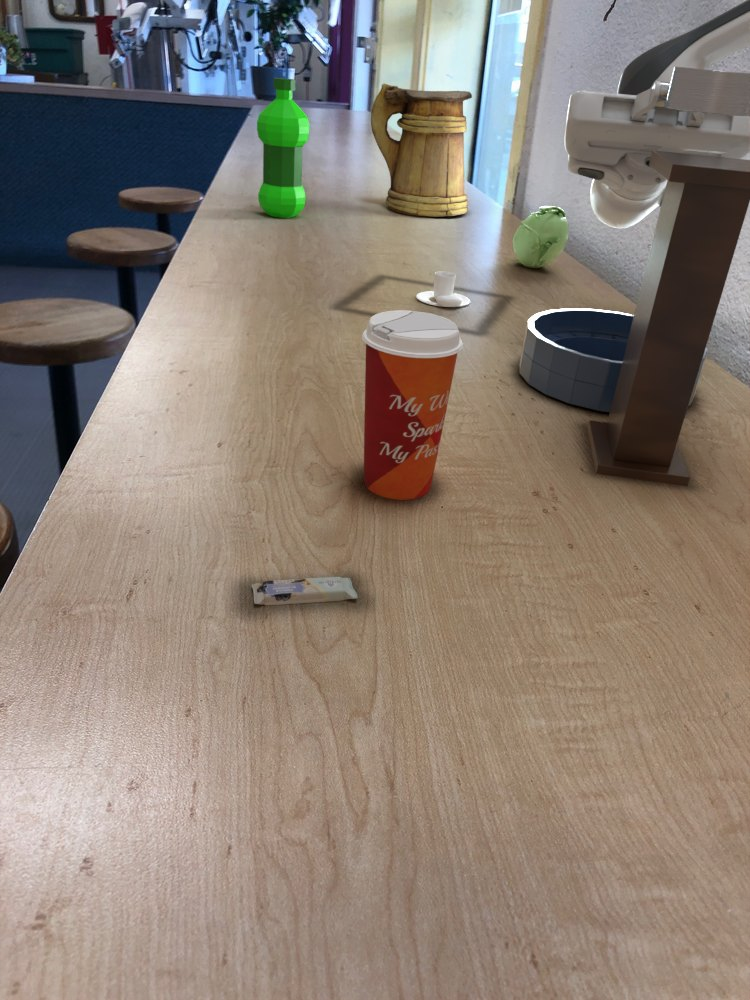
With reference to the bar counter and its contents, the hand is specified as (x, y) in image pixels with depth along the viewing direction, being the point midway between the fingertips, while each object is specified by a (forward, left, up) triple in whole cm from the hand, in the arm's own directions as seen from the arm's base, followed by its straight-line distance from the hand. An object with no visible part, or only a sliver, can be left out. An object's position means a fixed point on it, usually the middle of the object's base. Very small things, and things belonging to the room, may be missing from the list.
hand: (679, 90), depth 78 cm
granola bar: (+25, +50, -30) cm, 64 cm away
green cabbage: (+8, -52, -31) cm, 61 cm away
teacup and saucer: (+24, -22, -31) cm, 44 cm away
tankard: (+34, -98, -31) cm, 108 cm away
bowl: (+1, +2, -30) cm, 30 cm away
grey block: (0, +7, -1) cm, 7 cm away
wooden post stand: (0, +21, -30) cm, 37 cm away
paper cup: (+21, +33, -31) cm, 50 cm away
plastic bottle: (+59, -73, -31) cm, 98 cm away
